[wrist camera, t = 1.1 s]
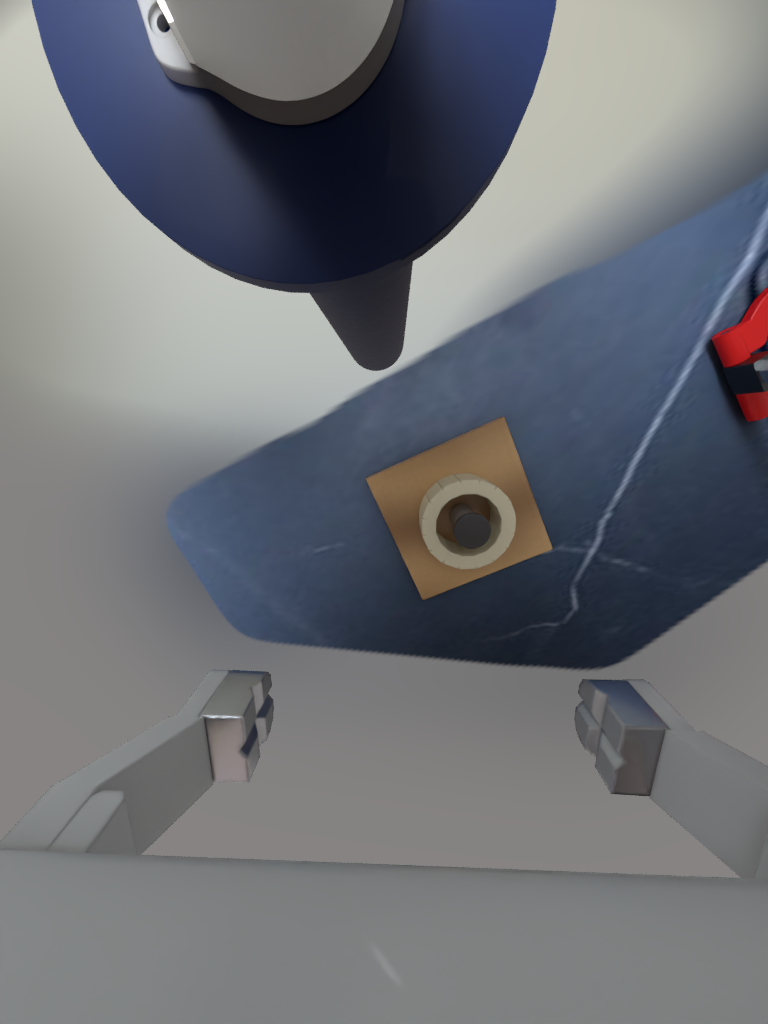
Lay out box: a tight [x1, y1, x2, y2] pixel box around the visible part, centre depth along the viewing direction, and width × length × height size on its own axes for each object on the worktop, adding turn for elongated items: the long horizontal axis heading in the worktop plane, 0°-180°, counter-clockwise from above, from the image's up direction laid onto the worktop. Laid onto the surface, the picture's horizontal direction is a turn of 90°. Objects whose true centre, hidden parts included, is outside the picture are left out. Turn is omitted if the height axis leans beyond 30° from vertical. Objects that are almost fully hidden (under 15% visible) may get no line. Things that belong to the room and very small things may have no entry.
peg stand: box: [366, 417, 552, 600], centre depth 26 cm, size 11×11×5 cm
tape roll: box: [419, 473, 516, 569], centre depth 26 cm, size 6×6×3 cm
